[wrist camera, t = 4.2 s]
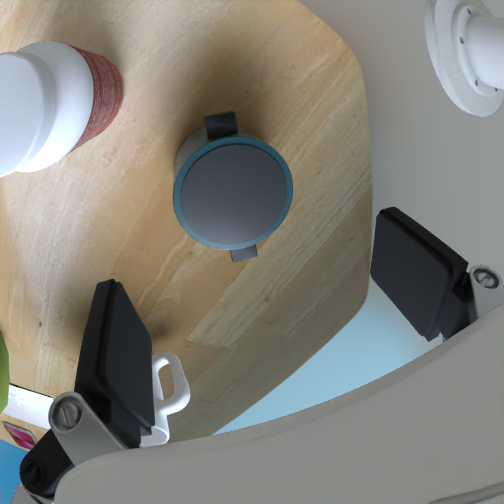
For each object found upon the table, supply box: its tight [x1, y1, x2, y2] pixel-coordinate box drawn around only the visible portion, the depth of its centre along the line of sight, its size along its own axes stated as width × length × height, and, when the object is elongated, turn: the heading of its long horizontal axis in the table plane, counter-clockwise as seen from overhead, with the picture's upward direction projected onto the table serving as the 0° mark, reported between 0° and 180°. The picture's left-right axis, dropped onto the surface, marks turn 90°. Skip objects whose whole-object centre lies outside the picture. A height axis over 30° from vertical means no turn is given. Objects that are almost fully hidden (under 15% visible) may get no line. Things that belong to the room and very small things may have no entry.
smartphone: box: [4, 423, 37, 450], centre depth 37 cm, size 7×1×15 cm
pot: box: [173, 111, 293, 262], centre depth 17 cm, size 7×9×6 cm
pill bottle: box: [0, 41, 124, 177], centre depth 10 cm, size 6×6×11 cm
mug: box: [140, 351, 190, 447], centre depth 24 cm, size 11×8×10 cm
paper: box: [2, 385, 53, 429], centre depth 31 cm, size 25×17×1 cm
